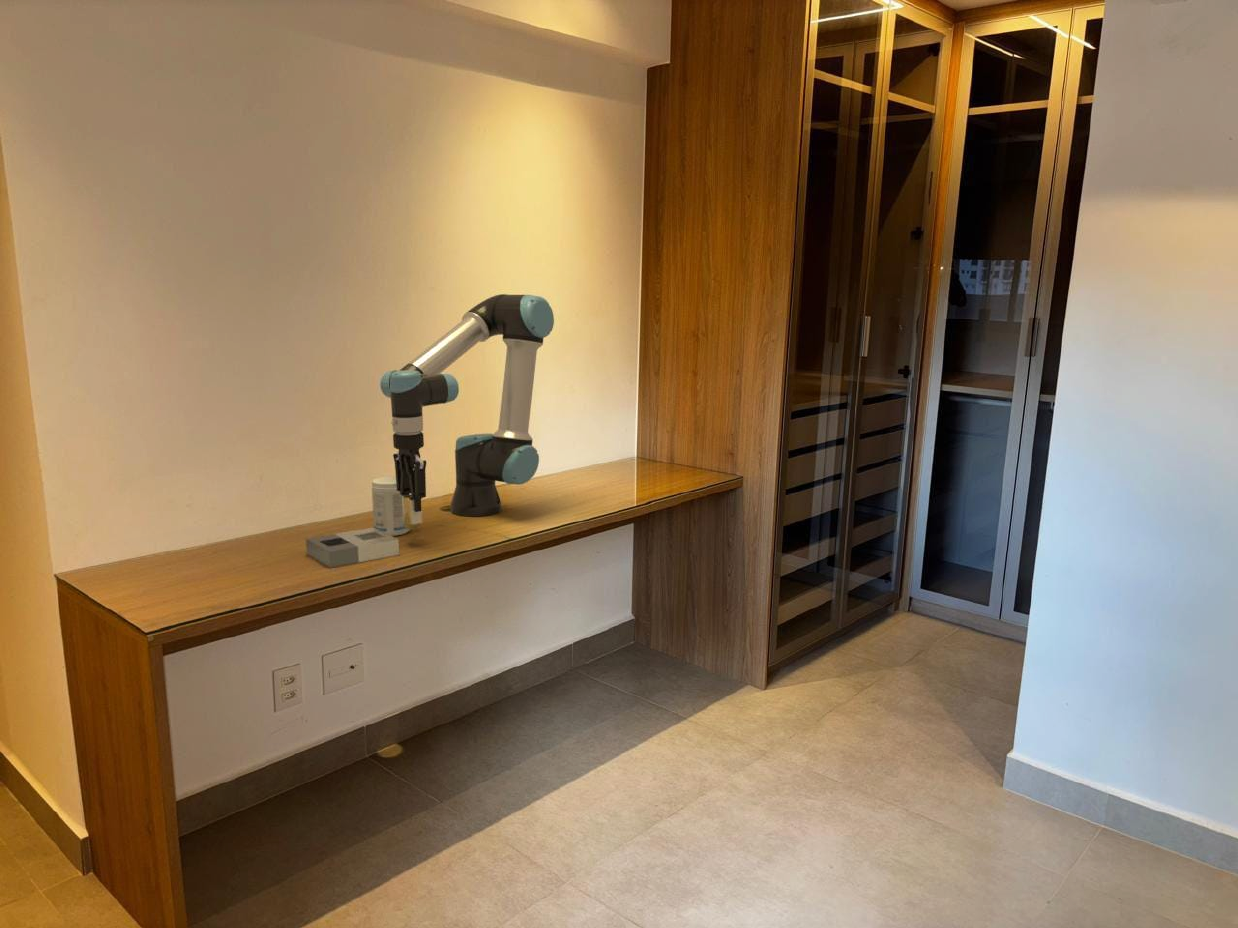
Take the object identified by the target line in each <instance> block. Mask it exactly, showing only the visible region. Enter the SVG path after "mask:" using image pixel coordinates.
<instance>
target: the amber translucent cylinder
mask: <svg viewBox="0 0 1238 928" xmlns="http://www.w3.org/2000/svg"><path fill="white" fill-rule="evenodd" d="M409 498H412V495H407V496H404V497H403V502H404V522H405V528H406V529H410V530H414V529H415V530H416V529H419V528H421V526H422V525H421V523H417V524H411V508H410V499H409Z"/></svg>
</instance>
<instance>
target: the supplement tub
mask: <svg viewBox="0 0 1238 928" xmlns="http://www.w3.org/2000/svg"><path fill="white" fill-rule="evenodd" d="M371 497H372V514H373V527H374V528H376V529H378V530H380V531H382V532H384V533H386V534H389V535H391V536H393V537H396V536H402V535H405V534H407V533H409V531H410V530H411V529H406V528H405V522H404V520H403V508H402V495H401V494H400V491H397V485H396V476H383V477H382V476H381V477H377V478H374V479H373V480H372V481H371Z"/></svg>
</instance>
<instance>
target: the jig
mask: <svg viewBox="0 0 1238 928" xmlns="http://www.w3.org/2000/svg"><path fill="white" fill-rule="evenodd" d="M305 544H306V545H305V547H306V555H308V557H311V558H313V559H314V560H316V561H317V562H319V563H320V564H322V565H324V566H325V567H327V568H328V569H331V568H337V567H343V566H348V565H352V564H358V563H363V562H369V561H373V560H378V559H383V558H388V557H389V558H390V557H394V556H395V557H396V556H399V555H400V546H399V545H400V544H399V538H397V537H396V536H391V535H389V534H386V533H384V532H382V531H380V530H378V529H376V528H374V526H373V527H368V528H363V529H361V528H360V529H356V530H355V529H354V530H350V531H343V532H338V533H332V534H326V535H321V536H313V537H308V538H305Z"/></svg>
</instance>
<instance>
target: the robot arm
mask: <svg viewBox="0 0 1238 928" xmlns="http://www.w3.org/2000/svg"><path fill="white" fill-rule="evenodd" d="M554 317H555V316H554V312H553V309H552V307H551V306H550V303H549V301H547V299H545V297H542V296H539V295H533V294H506V293H504V294H503V293H501V294H496V295H493V296H490V297H488V298H486V299H485V300H483V301H481V302H480V303H478V304H476V305H475V306H473V307H472V308H471V309H469V310H467V312H465V313H464V314H463V315H462V318H461V321H459V323H457V324H456V325H455V326H453V327H452V328H451V329H450V330H448V331H447V332H446V333H445V334H444V335H442V336H441V337H440V338H439V339H437V340H436V341H435V342H433V343H432V344H431V345H430V346H429V347H427V348H426V349H425V350H423V351H422V352H421V353H420V354H418V355H417V356H416V357H414V358H413V359H412V360H411V361H410V362H408V363H407V364H406V365H404V366H403V367H401V369H399V370H397V369H396V370H389V371H386V372H384V373H383V375H382V377H380V378H381V379H380V384H379V385H380V391H381V392H382V394H383V395H384V396H385V397H386V398H389V399H390V404H391V406H390V407H391V416H392V417H391V419H392V421H391V425H392V431H393V434H392V442H393V448H394V449H395V450H398V451H397V453H393V454H392V457H393V462H394V468H395V472H394V473H395V477H396V485H397V491H400V494H401V495H402V508H403V520H404V502H403V497H404V496H407V495H412V498H409V499H410V508H411V524H417V523H420V524H421V523H423V512H422V511H423V510H422V508H423V507H422V499H424V498H426V497H427V486H426V485H427V482H426V479H427V477H426V469H427V468H426V467H427V460H425V459H424V460H422V459H421V454H420V449H422V448H423V447H424V445H425V444H424V443H425V442H424V441H425V440H424V439H425V438H424V433H423V430H424V417H423V416H424V415H423V407H427V406H434V405H440V404H441V405H442V404H447V403H450V402H454V401H455V400H456V399H457V397H458V396H459V393H460V388H459V383H458V380H457V379H456V377H455V376H454V375H452V374H449V373H443V372H444V371H445V370H446V369H448V368H449V367H450V366H452V365H453V363H455V362H456V361H457V360H458V359H460V358H461V357H462V356H464V355H465V354H466V353H467V352H468V351H469V350H471V349H472V348H473V347H474V346H476V345H477V344H478V343H479V342H480V343H483V342H486V341H487V340H489V338H492V337H494V336H499V335H501V336H502V341H503V342H504V344H505V345H506V352H505V353H506V355H505V364H504V375H503V384H502V392H501V401H500V410H499V411H500V412H499V420H498V421H499V422H498V428H497V430H496V431H495V432H494V433H479V434H478V433H477V434H469V435H463V436H459V437H458V438H456V441H455V449H454V459H455V460H454V461H455V488H454V491H453V495H452V498H451V502H450V512H451V513H452V514H454V515H457V516H464V517H485V516H491V515H496V514H498V513H500V512H501V511H502V501H501V497H500V495H499V492H498V489H497V486H496V482H499V483H505V484H508V485H524V484H526V483H528V482H529V481H530V480H531V479H532V478H533V477H534V475H535V474H537V473H536V472H537V470H538V467H539V463H540V455H539V453H538V450H537V449H536V447H534V446H533V438H532V436H531V435H530V433H529V427H530V426H529V425H530V419H531V418H530V417H531V410H532V408H531V407H532V400H533V391H534V390H533V389H534V381H535V374H536V373H535V372H536V370H535V369H536V363H537V362H536V361H537V353H538V350H539V349H540V348H541V347H542V346H543V345H544V338H547V337H548V336H549V335H550V334H551V332H552V331H553V328H554V326H555V325H554V324H555V318H554Z"/></svg>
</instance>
